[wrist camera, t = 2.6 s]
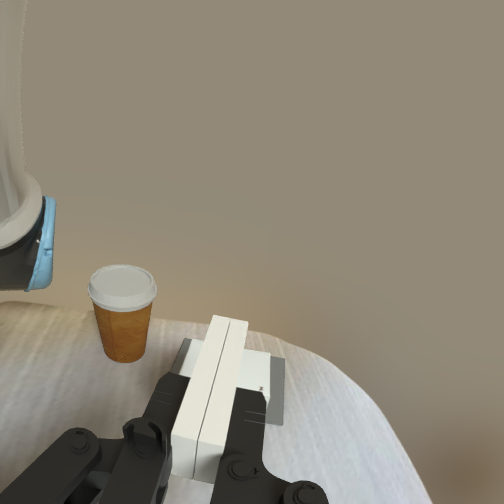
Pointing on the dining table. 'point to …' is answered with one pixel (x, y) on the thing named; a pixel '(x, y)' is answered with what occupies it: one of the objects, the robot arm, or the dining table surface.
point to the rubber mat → (276, 384)
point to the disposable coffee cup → (122, 309)
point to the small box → (251, 369)
